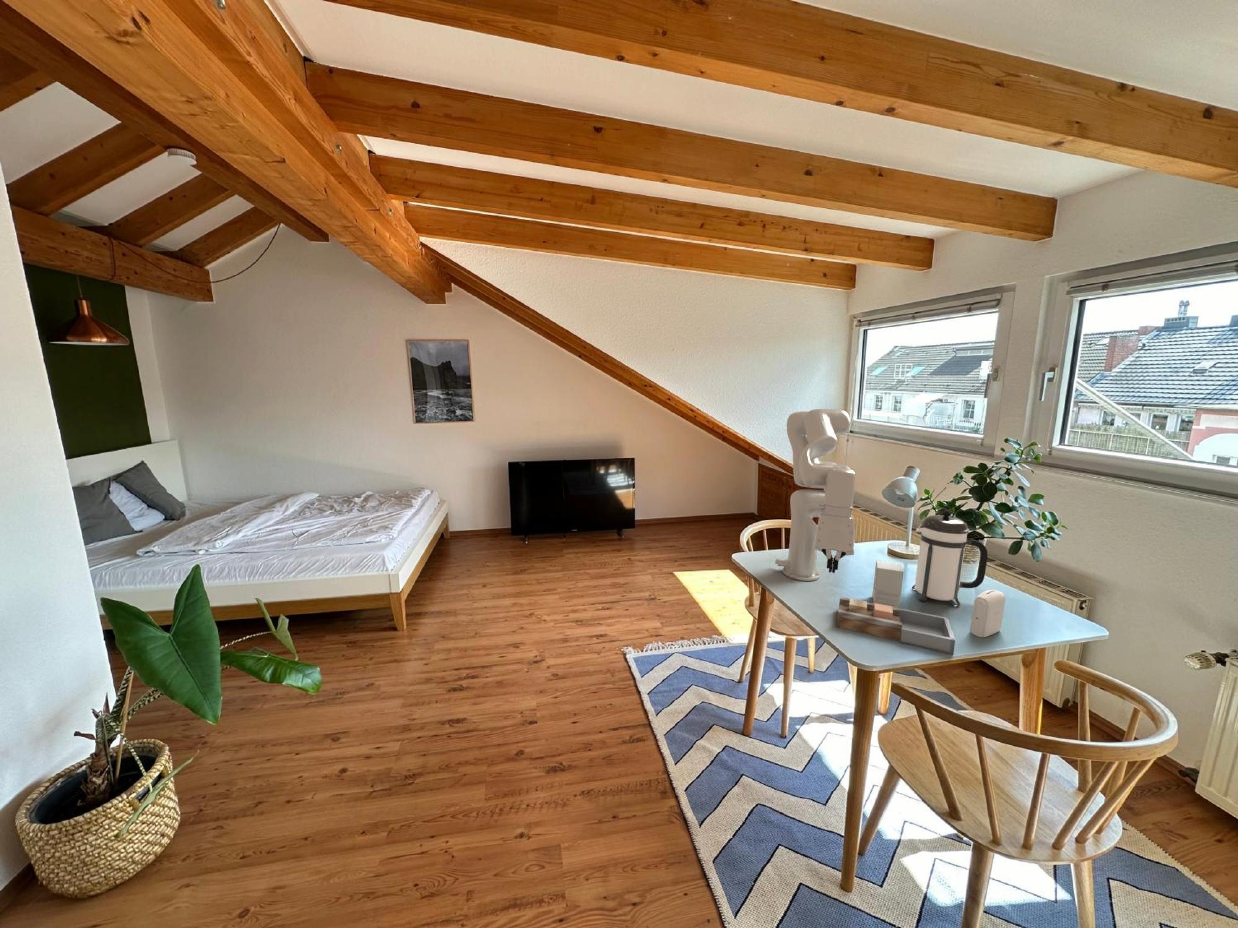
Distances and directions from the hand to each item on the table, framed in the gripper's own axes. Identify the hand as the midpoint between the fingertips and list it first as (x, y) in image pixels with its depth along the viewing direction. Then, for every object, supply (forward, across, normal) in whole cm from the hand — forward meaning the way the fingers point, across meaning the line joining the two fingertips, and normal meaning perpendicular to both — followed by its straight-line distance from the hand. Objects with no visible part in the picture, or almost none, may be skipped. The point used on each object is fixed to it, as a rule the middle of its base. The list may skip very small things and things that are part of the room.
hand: (832, 571), depth 144 cm
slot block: (+14, +11, +1) cm, 18 cm away
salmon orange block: (+12, +14, +1) cm, 18 cm away
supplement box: (+14, +16, +20) cm, 29 cm away
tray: (+15, +25, +1) cm, 29 cm away
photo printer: (+15, +41, +13) cm, 45 cm away
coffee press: (+14, +32, +33) cm, 48 cm away
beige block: (+11, +8, +1) cm, 14 cm away
